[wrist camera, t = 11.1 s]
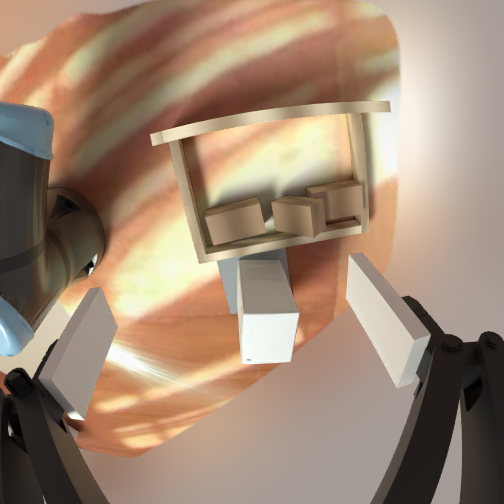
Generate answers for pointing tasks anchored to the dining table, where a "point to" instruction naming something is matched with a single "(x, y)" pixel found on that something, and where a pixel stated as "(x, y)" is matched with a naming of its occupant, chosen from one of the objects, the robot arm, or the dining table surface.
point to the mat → (231, 266)
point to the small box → (265, 312)
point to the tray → (176, 134)
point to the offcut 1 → (235, 221)
